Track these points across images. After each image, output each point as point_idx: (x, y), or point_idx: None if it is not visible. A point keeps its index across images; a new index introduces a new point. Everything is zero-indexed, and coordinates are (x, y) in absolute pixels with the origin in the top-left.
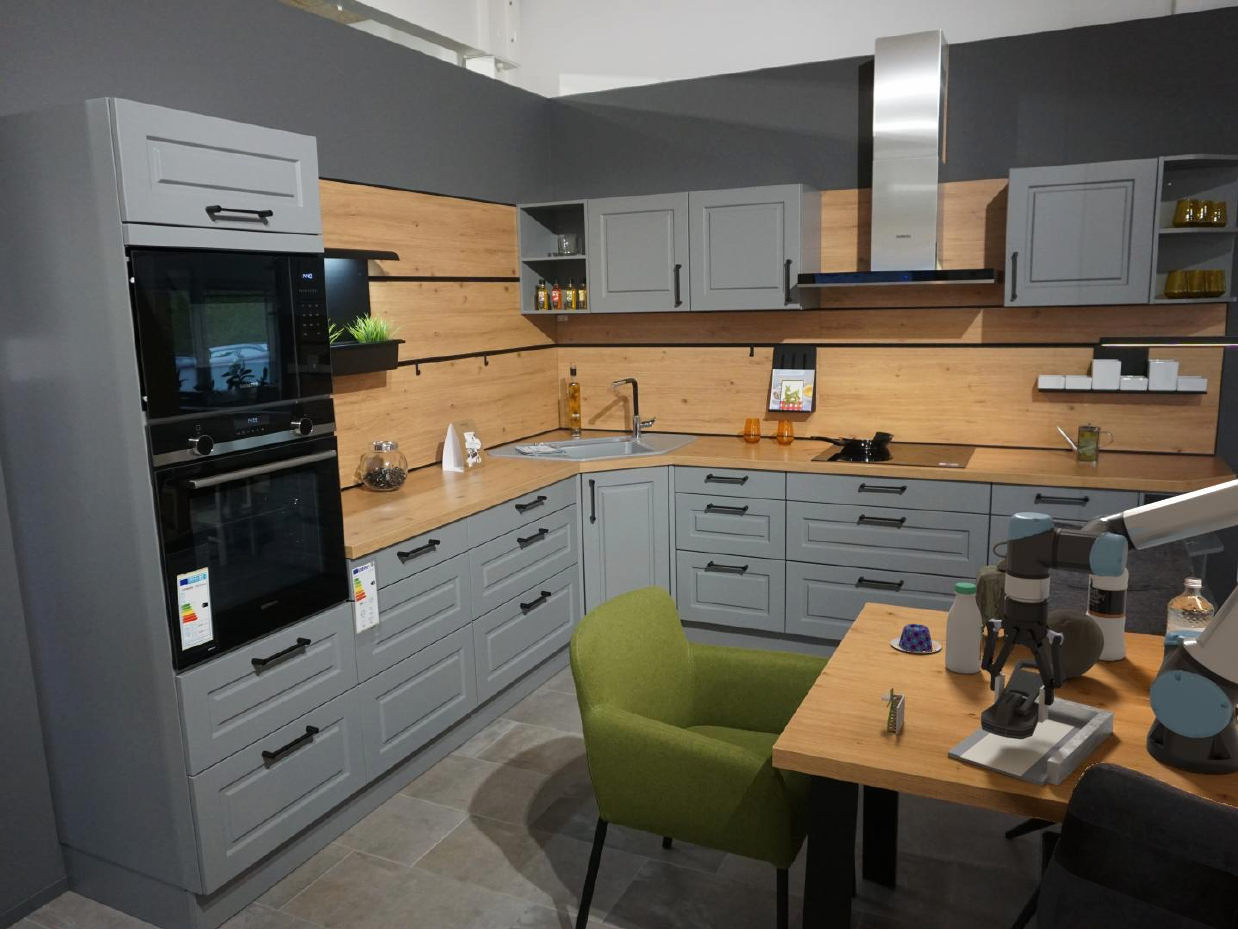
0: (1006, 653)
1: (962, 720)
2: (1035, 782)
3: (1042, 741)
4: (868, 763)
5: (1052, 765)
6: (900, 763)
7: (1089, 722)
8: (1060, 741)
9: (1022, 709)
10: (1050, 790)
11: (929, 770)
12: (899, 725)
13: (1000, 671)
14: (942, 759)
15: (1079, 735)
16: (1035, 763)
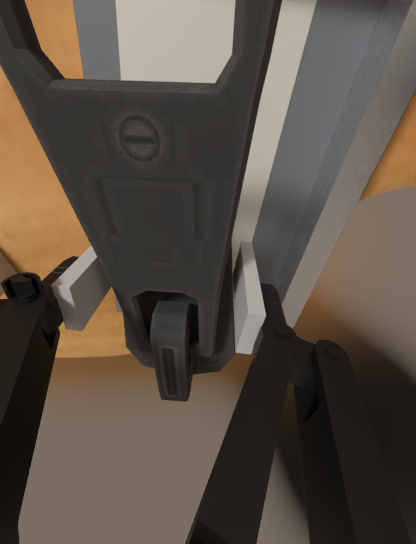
0: (26, 468)
1: (40, 145)
2: None
3: None
4: (66, 355)
5: None
6: (90, 343)
7: (377, 87)
8: (274, 166)
9: (205, 356)
10: None
11: (125, 344)
12: (3, 272)
13: (46, 301)
14: (119, 316)
15: (329, 218)
16: None
